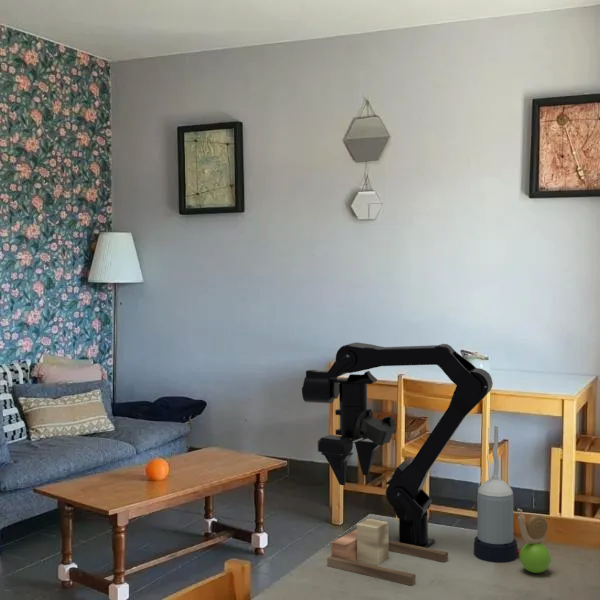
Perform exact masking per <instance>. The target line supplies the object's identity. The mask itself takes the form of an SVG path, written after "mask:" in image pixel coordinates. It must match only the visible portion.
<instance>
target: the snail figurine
mask: <svg viewBox="0 0 600 600" xmlns="http://www.w3.org/2000/svg"><path fill="white" fill-rule="evenodd" d="M516 511H517V515H518V516H517V521H518V525H519V531H520V534H521V535H520V536H521V538H522V539H523V541H525V542H526V543H525V544H524V545H523V546H522V547H521V549H520V550H519V562H520V564H521V565H522V567H523V568H524V570H527V571H528V572H530V573H533V574H541V573H544V572H545V571H547V570H548V569H549V567H550V565H551V562H552V556H551V555H552V554H551V552H550V550H549V549H548V548H547V547H546V545H544V544H543V542H544V541H545V540H546V539H547V534H546V533H547V531H548V522H547V520H546V518H545V517H544V516H542V515H540V514H535V515H532V516H530V517H529V518H528V519H527V520H526V517H525V515H524V514H521V513H523V510H522V509H520V508H517V509H516ZM519 513H520V514H519Z"/></svg>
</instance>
